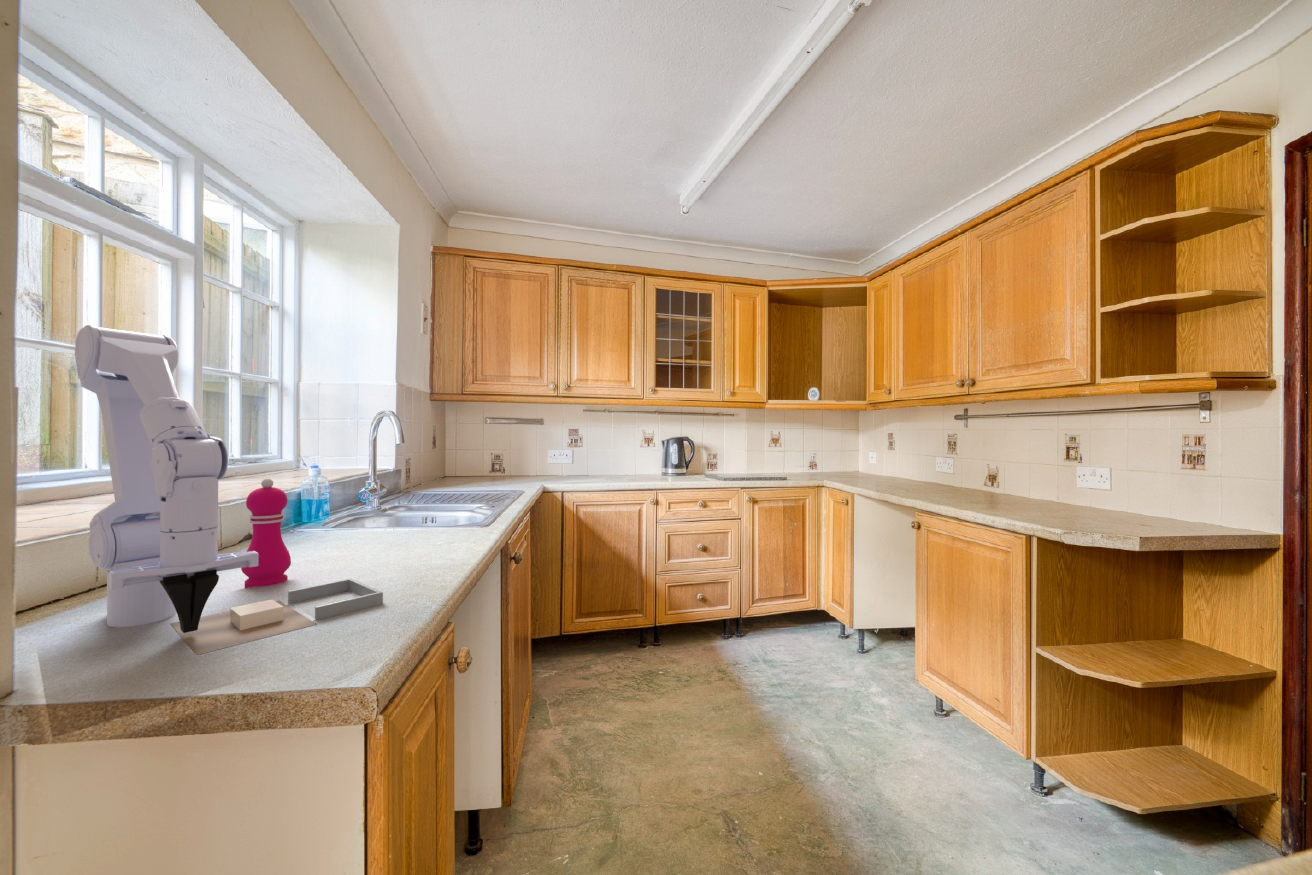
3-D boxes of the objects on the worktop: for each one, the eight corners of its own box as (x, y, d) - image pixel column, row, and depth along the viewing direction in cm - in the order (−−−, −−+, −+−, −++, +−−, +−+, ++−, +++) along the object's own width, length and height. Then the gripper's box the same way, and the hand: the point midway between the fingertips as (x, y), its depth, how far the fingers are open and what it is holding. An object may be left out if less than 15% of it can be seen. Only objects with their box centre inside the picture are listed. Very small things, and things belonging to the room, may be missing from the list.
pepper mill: (250, 596, 88) (251, 481, 88) (234, 589, 92) (235, 478, 92) (297, 586, 94) (298, 478, 94) (280, 579, 98) (281, 476, 98)
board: (170, 631, 72) (170, 623, 72) (279, 607, 83) (279, 600, 83) (196, 664, 63) (197, 654, 63) (317, 632, 73) (317, 624, 73)
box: (283, 610, 81) (283, 591, 81) (351, 595, 89) (351, 578, 89) (311, 629, 74) (312, 608, 74) (382, 610, 82) (382, 592, 82)
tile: (230, 621, 73) (230, 607, 73) (271, 612, 77) (272, 599, 77) (240, 630, 70) (240, 615, 70) (283, 620, 74) (283, 606, 74)
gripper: (115, 541, 60) (114, 656, 60) (265, 524, 71) (264, 621, 71) (107, 533, 64) (106, 640, 64) (250, 519, 75) (249, 610, 76)
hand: (189, 629), depth 68 cm, fingers closed
